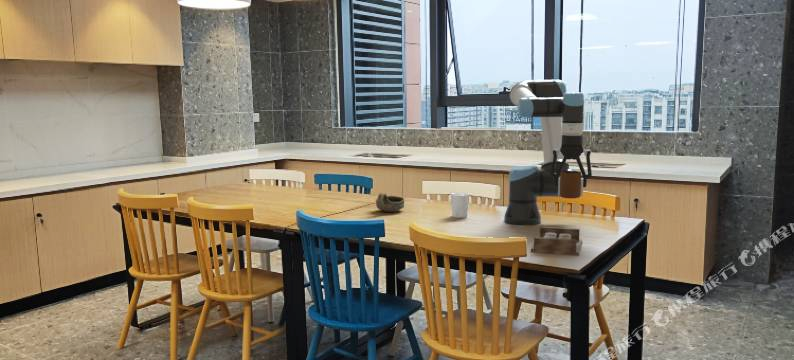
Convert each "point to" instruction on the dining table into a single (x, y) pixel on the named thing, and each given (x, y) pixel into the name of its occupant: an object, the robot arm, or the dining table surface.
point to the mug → (570, 184)
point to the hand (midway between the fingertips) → (570, 195)
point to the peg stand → (557, 241)
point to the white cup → (459, 204)
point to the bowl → (389, 202)
